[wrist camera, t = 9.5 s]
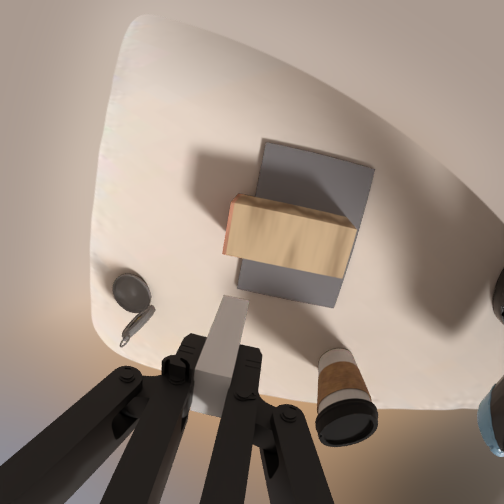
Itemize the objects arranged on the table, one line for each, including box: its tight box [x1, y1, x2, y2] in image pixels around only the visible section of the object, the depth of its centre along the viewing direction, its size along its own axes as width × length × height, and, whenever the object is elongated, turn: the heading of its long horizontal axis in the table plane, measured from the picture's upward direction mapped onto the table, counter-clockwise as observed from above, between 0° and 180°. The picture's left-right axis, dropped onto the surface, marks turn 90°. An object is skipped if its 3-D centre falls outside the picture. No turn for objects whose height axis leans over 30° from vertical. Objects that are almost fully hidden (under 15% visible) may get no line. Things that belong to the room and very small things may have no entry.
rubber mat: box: [237, 142, 375, 308], centre depth 39 cm, size 14×20×1 cm
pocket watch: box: [113, 274, 155, 347], centre depth 41 cm, size 8×8×10 cm
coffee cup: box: [315, 348, 378, 447], centre depth 39 cm, size 8×8×15 cm
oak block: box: [222, 194, 357, 279], centre depth 36 cm, size 6×6×14 cm
